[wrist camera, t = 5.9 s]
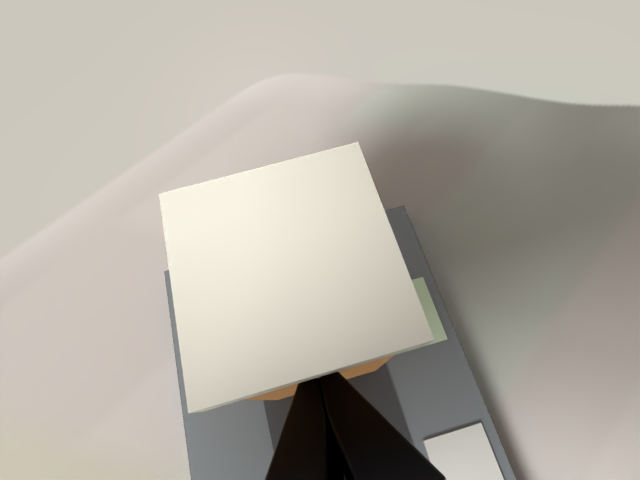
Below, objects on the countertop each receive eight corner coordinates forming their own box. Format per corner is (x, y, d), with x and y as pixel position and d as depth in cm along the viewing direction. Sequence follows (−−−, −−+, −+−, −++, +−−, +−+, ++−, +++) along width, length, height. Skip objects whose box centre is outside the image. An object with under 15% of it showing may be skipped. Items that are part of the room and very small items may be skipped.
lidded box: (381, 373, 13) (434, 339, 6) (274, 405, 13) (188, 412, 6) (348, 272, 15) (358, 141, 7) (251, 299, 15) (158, 193, 7)
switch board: (561, 618, 12) (583, 639, 11) (236, 733, 11) (226, 768, 10) (400, 216, 17) (404, 204, 16) (174, 278, 16) (163, 270, 15)
